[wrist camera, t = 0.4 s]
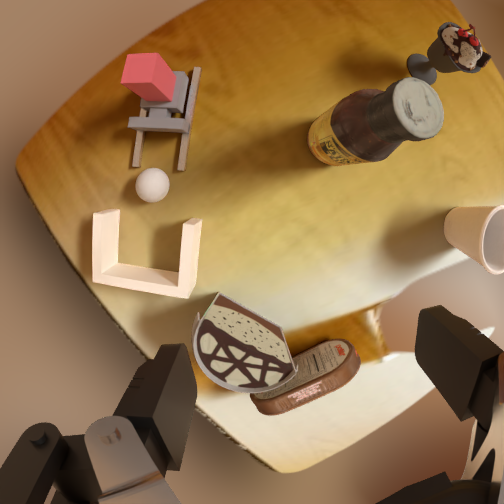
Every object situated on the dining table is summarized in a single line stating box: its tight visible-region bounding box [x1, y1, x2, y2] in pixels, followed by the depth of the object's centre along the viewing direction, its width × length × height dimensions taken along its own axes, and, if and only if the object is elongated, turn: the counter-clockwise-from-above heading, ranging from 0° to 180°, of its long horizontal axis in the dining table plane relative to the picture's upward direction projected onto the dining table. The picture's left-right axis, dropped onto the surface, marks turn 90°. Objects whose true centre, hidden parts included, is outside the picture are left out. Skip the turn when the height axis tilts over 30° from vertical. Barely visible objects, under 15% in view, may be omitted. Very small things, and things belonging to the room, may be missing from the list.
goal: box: [92, 209, 202, 299], centre depth 34 cm, size 8×12×5 cm
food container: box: [192, 292, 298, 393], centre depth 34 cm, size 12×6×10 cm, turn 58°
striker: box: [121, 53, 189, 133], centre depth 27 cm, size 7×6×10 cm
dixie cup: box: [444, 205, 504, 274], centre depth 31 cm, size 8×8×10 cm
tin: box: [250, 339, 361, 415], centre depth 36 cm, size 15×3×8 cm, turn 119°
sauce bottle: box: [307, 77, 444, 166], centre depth 24 cm, size 7×6×20 cm
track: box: [132, 67, 202, 171], centre depth 33 cm, size 13×7×1 cm, turn 172°
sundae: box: [408, 22, 491, 85], centre depth 24 cm, size 7×7×15 cm
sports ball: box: [136, 168, 170, 202], centre depth 33 cm, size 4×4×4 cm
